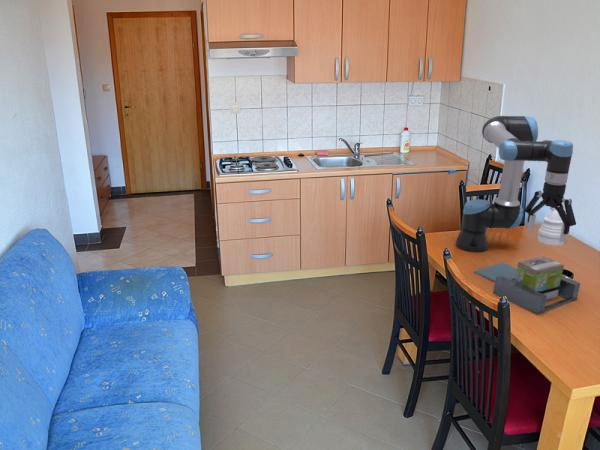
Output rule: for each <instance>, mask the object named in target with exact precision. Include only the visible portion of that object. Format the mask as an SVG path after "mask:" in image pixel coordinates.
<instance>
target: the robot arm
mask: <svg viewBox="0 0 600 450" xmlns="http://www.w3.org/2000/svg"><path fill="white" fill-rule="evenodd" d="M481 134H482V135H481V136H482V138H484V140H485V141H486V142H488V143H490V144H493V145H494V146H495V147H497V148H498V155H499V158H500V160H502V161H503V168H502V173H501V179H500V186H499V191H498V196H497V197H496V198H495V199H494V200H493V201H494V202H493V203H491V202H490V200H486V199H482V198H481V199H479V198H478V199H471V200H468V201H466V202H465V203H464V206H463V210H462V219H461V220H462V221H461V230H460V232H459V234H458V235H457V238H456V239H455V240H456V241H455V246H456V247H457V248H458V249H459V250H463V251H466V252H472V253H482V252H485V251H488V248H489V243H488V239H487V238H488V237H487V229H488V228H490V229H516V228H518V227H519V225H520V224H521V222H522V220H523V216H524V212H525V213H526V214H527V215H528V216H527V223H528V224H527V232H533V231H534V228H535V222H536V217H537V215H536V213H537V212H538V211H540V210H541V209H542V208H544V207H549V208H550V207H552V208H555V210H557V212H558V214H559V216H560V218H561V220H562V221H563V223H564V225H562V228H561V234H560V239H559V242H564V241H565V242H566V239H567V235H568V234H570V233H569V232H570V229H571V227H573V226H576V225H577V221H576V219H575V215H574V210H573V207H572V198H565V197H564V195H565V193H566V190H567V189H566V188H567V182H568V179H569V178H568V177H569V172H570V166H571V162H572V157H573V152H574V151H573V150H574V144H573V142H572V141H569V140H568V141H567V140H559V139H557V140H556V139H555V140H548V139H544V140H541V141H538V136H539V126H538V123H537V120H536V119H535V118H534V117H532V116H526V115H520V116H519V115H498V116H494V117H491V118H490V119H489V120H487V121H486V122H484V124H483V126H482V128H481ZM525 161H526V162H546V163H547V165H546V170H545V177H544V181H545V182H544V183H543V188H542V191H541V190H537V191H535V192H534V194H533V197H532V198H531V200H530V201H529V203H528V204H527V206H526V207H525V208H523V206H522V205H521V202H520V201H519V193H520V186H521V182H522V176H523V170H524V166H525ZM539 199H542V200H541V201H540V200H539ZM538 201H540V202H538ZM537 203H538V204H537ZM536 204H537V205H536Z"/></svg>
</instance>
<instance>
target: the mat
mask: <svg viewBox="0 0 600 450" xmlns="http://www.w3.org/2000/svg"><path fill="white" fill-rule="evenodd" d="M516 272H517V267H515V266H512V265H510V264H507V263H505V262H503V261H502V262H500V263H496V264H493V265H489V266H486V267H483V268H480V269H477V270H474V271H473V273H474V274H476V275H478V276H479V277H483V278H484V279H486V280H487V279H488V280H489V281H492V282H493V283H495V279H496V277H499V276H503V277H506V278H508V279H510V280H512V281H515V277H516Z"/></svg>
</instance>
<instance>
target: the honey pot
mask: <svg viewBox="0 0 600 450" xmlns="http://www.w3.org/2000/svg"><path fill="white" fill-rule="evenodd" d="M549 210H550V213H549V214H548V215H546V216H544V217H543V222H542V223H541V225H540V227H539V228H538V232H537V238H536V239H537V241H538V242H539V243H542V244H545V245H549V246H563V245H565V243H566V240H565V241H564V242H559V239H560V234H561V228H562V225H564V223H563V221H562V220H561V218H560V216H559V214H558V212H557V210H556V209H555V208H552V207H550V206H549Z"/></svg>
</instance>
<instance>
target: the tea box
mask: <svg viewBox="0 0 600 450" xmlns="http://www.w3.org/2000/svg"><path fill="white" fill-rule="evenodd" d="M564 266H565V264H563V263H560V262H558V261H555V260H553V259H552V258H549V257H547V256H543V255H542V256H539V257H534V258H531V259H526V260H520V261H518V263H517V267H516V268H517V272H516V277H515V280H514V281H515V282H517V283H519V284H521V285H524V286H526V287H528V288H530V289H533V290H535V291H537V292H539V293H542V294H544V295H546V296H547V298H546V301H548V300H552V299H556V298H557V297H558V296H559V295H558V290H559V286H560V281H561V277H562V275H563V272H564Z"/></svg>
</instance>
